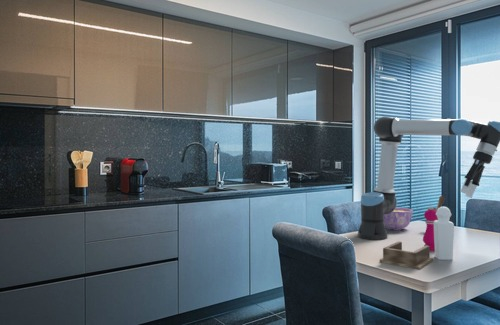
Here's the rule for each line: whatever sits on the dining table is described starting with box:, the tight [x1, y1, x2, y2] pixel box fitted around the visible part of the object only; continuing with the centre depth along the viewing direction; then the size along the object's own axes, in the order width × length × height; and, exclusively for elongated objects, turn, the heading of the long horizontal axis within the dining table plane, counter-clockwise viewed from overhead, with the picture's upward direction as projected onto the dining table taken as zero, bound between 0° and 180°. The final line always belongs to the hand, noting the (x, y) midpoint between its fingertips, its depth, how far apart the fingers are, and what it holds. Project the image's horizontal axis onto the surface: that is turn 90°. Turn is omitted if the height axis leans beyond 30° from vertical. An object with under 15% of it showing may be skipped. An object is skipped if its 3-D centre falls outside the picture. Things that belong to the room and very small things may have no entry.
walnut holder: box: [379, 241, 434, 270], centre depth 162 cm, size 16×16×6 cm
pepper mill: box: [422, 206, 438, 252], centre depth 182 cm, size 7×7×20 cm
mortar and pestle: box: [427, 195, 446, 220], centre depth 225 cm, size 12×9×20 cm
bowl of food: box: [384, 206, 414, 231], centre depth 233 cm, size 20×20×12 cm
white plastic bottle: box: [434, 205, 455, 261], centre depth 167 cm, size 6×6×22 cm
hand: (465, 195), depth 186 cm, fingers open, 13 cm apart
